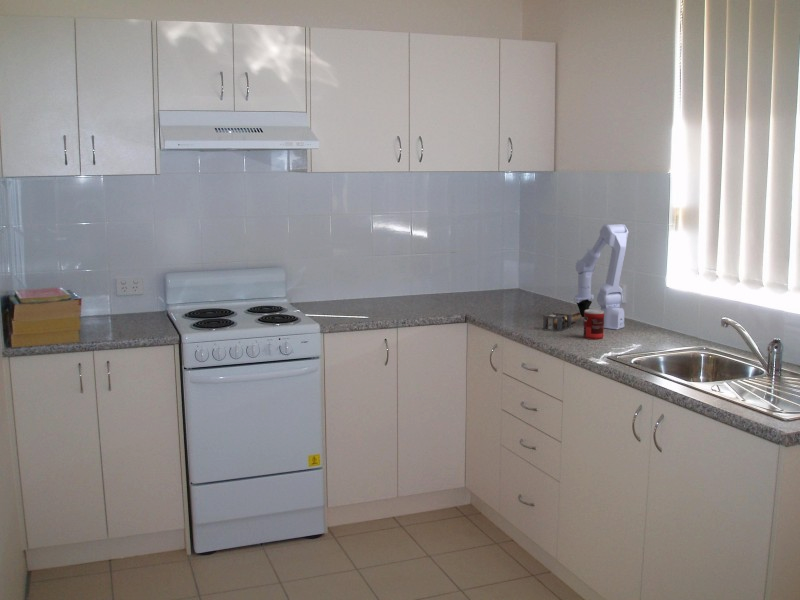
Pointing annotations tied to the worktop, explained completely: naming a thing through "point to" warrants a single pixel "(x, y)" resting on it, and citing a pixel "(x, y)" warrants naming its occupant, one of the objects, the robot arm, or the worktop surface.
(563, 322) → the tube
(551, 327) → the firebox
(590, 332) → the canned food
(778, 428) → the worktop surface
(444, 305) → the worktop surface
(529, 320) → the worktop surface
